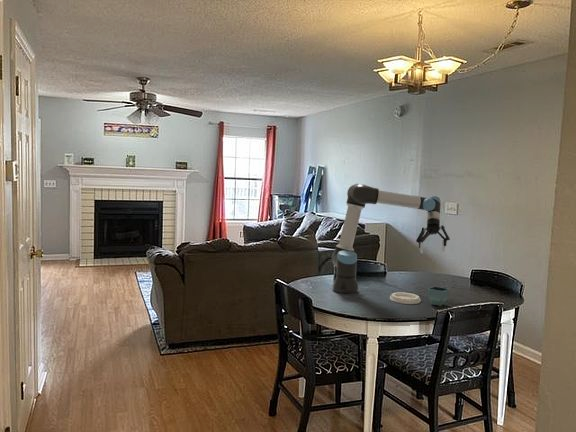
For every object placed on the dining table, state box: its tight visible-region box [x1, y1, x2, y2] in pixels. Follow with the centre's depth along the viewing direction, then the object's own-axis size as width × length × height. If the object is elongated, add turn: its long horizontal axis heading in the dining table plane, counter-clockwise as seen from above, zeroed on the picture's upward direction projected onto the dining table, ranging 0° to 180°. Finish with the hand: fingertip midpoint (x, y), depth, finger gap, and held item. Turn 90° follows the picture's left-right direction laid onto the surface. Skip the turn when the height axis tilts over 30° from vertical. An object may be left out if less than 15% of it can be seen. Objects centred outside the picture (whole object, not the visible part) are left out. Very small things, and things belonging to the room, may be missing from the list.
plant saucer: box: [389, 291, 422, 305], centre depth 279 cm, size 17×17×2 cm
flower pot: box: [427, 286, 450, 307], centre depth 271 cm, size 9×9×9 cm
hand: (432, 252), depth 297 cm, fingers open, 13 cm apart
